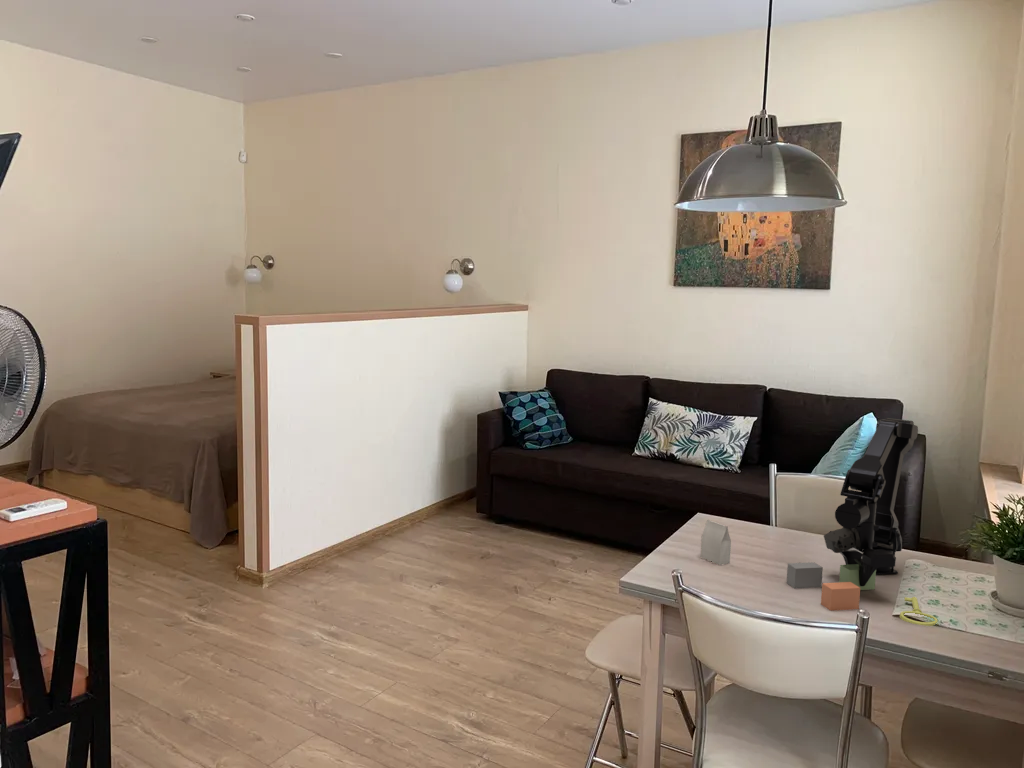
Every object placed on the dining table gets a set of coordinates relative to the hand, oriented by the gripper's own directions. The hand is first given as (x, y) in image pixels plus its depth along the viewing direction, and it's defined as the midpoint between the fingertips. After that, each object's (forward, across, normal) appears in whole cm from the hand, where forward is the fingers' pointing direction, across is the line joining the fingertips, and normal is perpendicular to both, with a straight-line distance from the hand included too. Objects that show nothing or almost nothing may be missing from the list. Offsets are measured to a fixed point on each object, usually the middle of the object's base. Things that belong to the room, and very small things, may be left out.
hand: (856, 582), depth 183 cm
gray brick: (+1, -3, -12) cm, 12 cm away
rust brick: (+1, +10, -11) cm, 15 cm away
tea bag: (+1, -22, -26) cm, 34 cm away
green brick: (+1, 0, 0) cm, 1 cm away
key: (+2, +16, +4) cm, 17 cm away
